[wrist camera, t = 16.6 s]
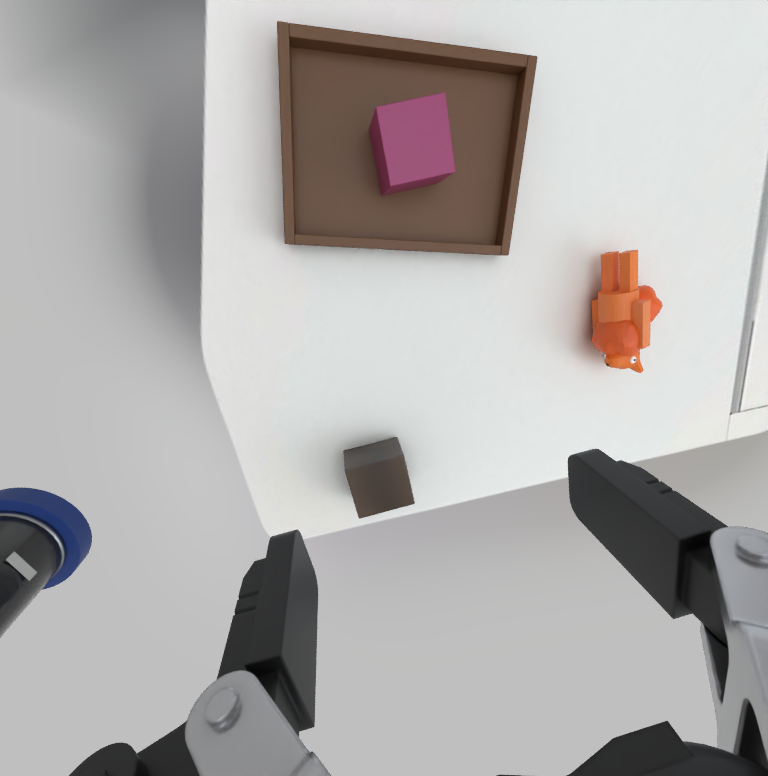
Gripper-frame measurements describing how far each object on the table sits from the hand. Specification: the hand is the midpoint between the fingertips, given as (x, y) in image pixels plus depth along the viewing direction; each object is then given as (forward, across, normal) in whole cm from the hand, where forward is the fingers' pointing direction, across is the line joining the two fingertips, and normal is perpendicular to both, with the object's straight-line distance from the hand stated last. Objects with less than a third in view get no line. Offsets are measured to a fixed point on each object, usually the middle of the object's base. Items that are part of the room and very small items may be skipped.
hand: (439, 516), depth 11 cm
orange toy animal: (+28, -26, +4) cm, 38 cm away
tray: (+28, -7, -14) cm, 32 cm away
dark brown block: (+28, +2, +15) cm, 32 cm away
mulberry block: (+27, -7, -14) cm, 31 cm away
